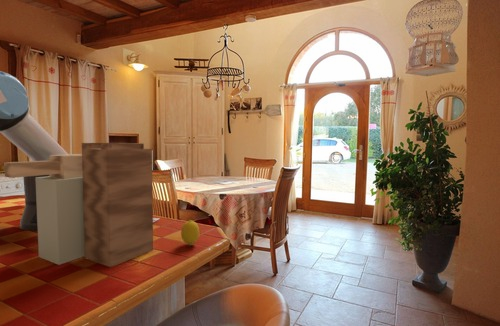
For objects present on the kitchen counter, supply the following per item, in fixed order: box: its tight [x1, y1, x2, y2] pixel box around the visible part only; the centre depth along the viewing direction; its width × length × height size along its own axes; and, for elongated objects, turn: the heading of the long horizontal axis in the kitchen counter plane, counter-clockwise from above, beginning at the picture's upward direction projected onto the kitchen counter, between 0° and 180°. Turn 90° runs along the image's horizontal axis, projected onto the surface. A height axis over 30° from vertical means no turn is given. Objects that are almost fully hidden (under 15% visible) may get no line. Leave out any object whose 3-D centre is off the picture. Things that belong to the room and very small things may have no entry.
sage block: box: [36, 176, 85, 266], centre depth 86 cm, size 10×14×22 cm
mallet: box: [3, 153, 83, 179], centre depth 80 cm, size 7×19×6 cm, turn 150°
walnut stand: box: [81, 142, 154, 268], centre depth 85 cm, size 11×14×32 cm
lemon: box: [180, 219, 200, 246], centre depth 94 cm, size 6×6×8 cm
